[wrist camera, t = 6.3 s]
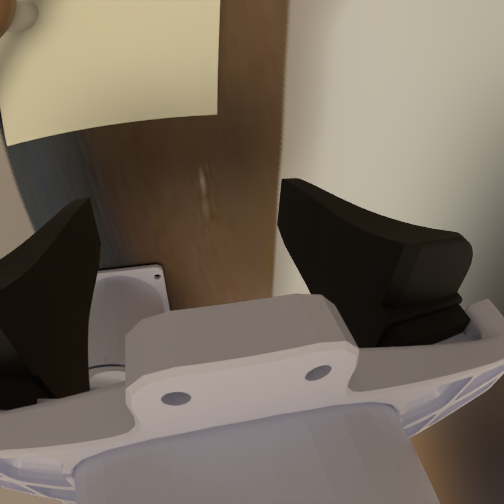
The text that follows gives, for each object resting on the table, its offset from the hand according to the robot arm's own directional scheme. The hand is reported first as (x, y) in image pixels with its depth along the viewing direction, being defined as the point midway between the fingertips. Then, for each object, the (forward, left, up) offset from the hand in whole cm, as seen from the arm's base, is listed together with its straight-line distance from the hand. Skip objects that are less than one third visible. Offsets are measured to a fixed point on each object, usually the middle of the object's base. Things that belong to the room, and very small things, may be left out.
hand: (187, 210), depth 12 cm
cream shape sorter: (+14, +4, -10) cm, 18 cm away
